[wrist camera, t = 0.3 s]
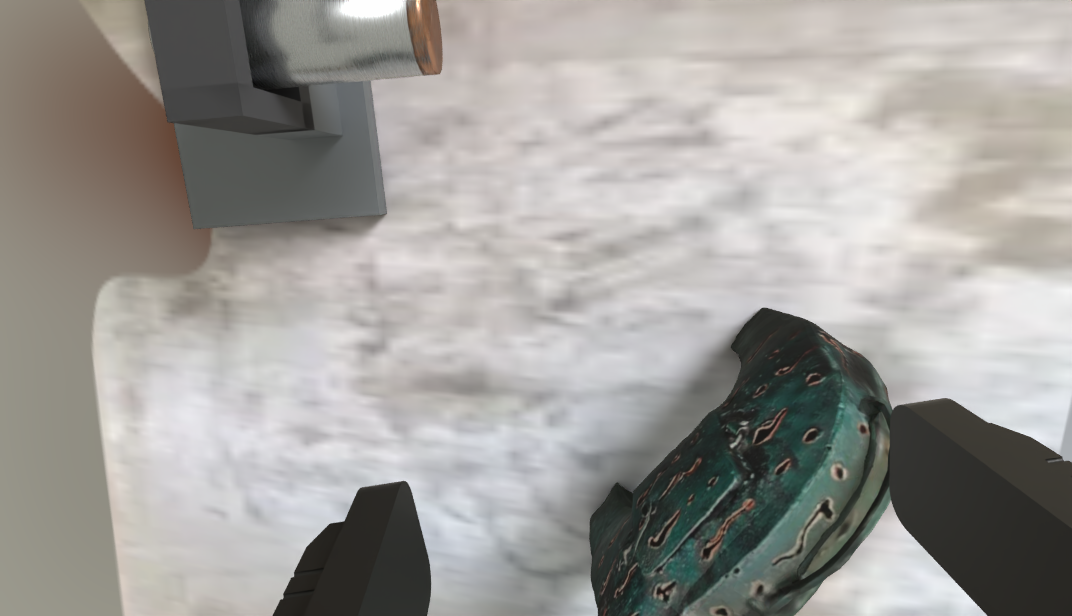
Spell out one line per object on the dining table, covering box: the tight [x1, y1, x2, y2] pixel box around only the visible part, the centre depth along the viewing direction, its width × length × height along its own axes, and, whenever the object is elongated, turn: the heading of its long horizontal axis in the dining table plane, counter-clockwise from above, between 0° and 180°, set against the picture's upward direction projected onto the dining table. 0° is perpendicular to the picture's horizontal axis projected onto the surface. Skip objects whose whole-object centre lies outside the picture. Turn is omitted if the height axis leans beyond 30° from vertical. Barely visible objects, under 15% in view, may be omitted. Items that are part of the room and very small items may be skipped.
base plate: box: [174, 80, 387, 229], centre depth 33 cm, size 16×11×6 cm
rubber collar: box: [145, 0, 315, 135], centre depth 26 cm, size 7×3×7 cm, turn 4°
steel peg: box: [148, 0, 442, 90], centre depth 26 cm, size 4×11×4 cm, turn 94°
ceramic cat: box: [589, 308, 893, 616], centre depth 29 cm, size 20×6×20 cm, turn 145°
